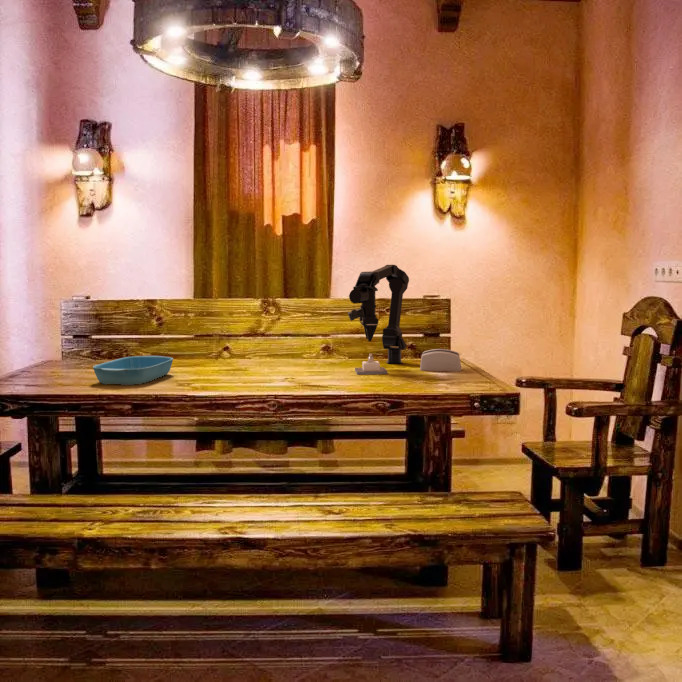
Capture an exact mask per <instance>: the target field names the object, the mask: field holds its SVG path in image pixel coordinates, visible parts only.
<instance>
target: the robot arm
mask: <svg viewBox="0 0 682 682" xmlns="http://www.w3.org/2000/svg"><path fill="white" fill-rule="evenodd" d="M385 278H386V281H387V282H388V288H389V290H390V292H391V295H390V305H389V315H388V323H387V324H388V325H387V326H386V328H383V329H382V336H381V341H382V342H381V343H382V347H383V350H387V360H386V363H387V364H388V365H389V364H391V365H392V364H394V365H395V364H397V365H398V364H399V365H401V364H404V362H403V361H402V350H404V351H405V350H406V349H407V348H406V347H407V343H406V342H405V340H404V338H403V332H402V329H401V327H400V323H401V316H402V308H403V298H404V297H403V295H404V294H405V292H406V290H407V289H408V287H409V283H410V278H409V276H408V274H407V273H406V272H405V271H404V270H402V269H401V268H399V267H398V265H396V264H386V265H384V266H382V267H380V268H378V269H375V270H372V271H361V272H360V273H359V276H358V277H357V280H356V283H355V285H354V286H353V287H352V290H351V291H349V292H350V293H349V295H348V298H349V301H350V302H351V303H352V304H356V305H357V304H360V306H359V308H358V309H350V310H351V311H349V312H347V315H348V318H349V320H350V321H351V322H353V321H354V320H356V319H358V318H359V323H360V325H362V327H363V329H364V334H365V339H366V340H367V341H368V342H372V341H373V338H374V334H375V332H376V330H377V328H378V325H379V319H378V318H377V315H376V308H377V305H376V292H378V290H379V289H378V288H377V287H376V286H377V285H378V284H380V281H381V280H382V279H385Z"/></svg>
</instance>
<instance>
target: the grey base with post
mask: <svg viewBox="0 0 682 682" xmlns="http://www.w3.org/2000/svg"><path fill="white" fill-rule="evenodd" d="M367 361H368V363H374V361H375V360H374V357H373V353H369V354H368V357H367ZM354 371H355V373H356V375H359V376H360V375H388V370H387V369H386V368H385V367H382V366H381V367H380V371H364V370H363V369H362V367H354Z"/></svg>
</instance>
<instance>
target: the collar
mask: <svg viewBox="0 0 682 682" xmlns="http://www.w3.org/2000/svg"><path fill="white" fill-rule="evenodd" d="M361 365H362V367H361V368H362V369H363V370H364V371H380V366H381V364H380V362H379V361H378V360H374V363H368V360H367V361H365V360H364V361H362V362H361Z"/></svg>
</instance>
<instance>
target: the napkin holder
mask: <svg viewBox="0 0 682 682" xmlns="http://www.w3.org/2000/svg"><path fill="white" fill-rule="evenodd" d="M420 357H421V358H420V367H419V371H431V372H432V371H433V372H435V371H437V372H440V371H441V372H461V371H462V363H461V358H460V353H459V352H458V351H454V350H451V349H447V348H446V349H445V348H434V349H433V348H432V349H429V350H425V351H423V352H422V354H421V356H420Z"/></svg>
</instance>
